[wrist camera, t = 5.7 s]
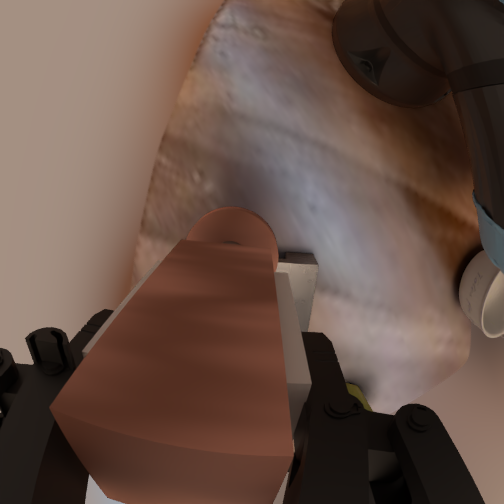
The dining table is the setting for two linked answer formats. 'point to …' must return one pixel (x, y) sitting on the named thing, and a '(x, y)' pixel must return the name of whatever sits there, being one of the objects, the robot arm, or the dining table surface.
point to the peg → (190, 377)
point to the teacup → (483, 295)
